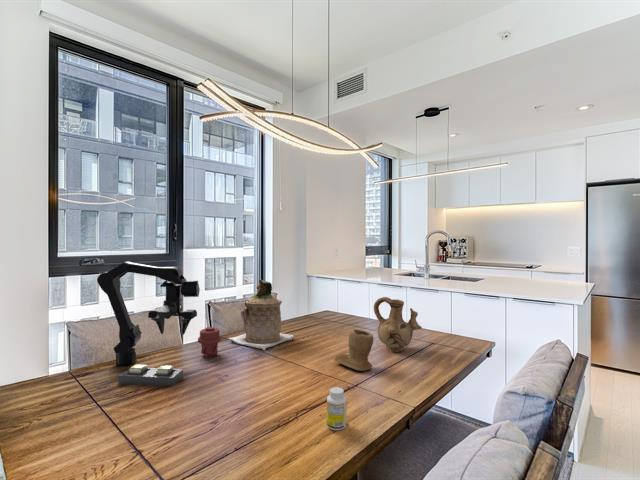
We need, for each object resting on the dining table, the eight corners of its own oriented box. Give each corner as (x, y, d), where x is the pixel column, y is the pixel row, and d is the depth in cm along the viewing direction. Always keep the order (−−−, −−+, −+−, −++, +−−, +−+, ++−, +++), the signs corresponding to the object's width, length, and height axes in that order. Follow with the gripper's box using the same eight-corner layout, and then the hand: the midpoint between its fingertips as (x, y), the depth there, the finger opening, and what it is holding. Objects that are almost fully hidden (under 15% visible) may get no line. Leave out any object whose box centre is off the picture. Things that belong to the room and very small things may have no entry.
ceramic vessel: (392, 358, 152) (393, 302, 151) (366, 346, 168) (367, 295, 168) (422, 352, 160) (423, 299, 160) (394, 341, 177) (395, 293, 177)
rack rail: (118, 385, 122) (118, 375, 122) (132, 376, 130) (132, 367, 130) (172, 387, 120) (172, 377, 120) (183, 378, 128) (183, 369, 128)
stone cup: (379, 368, 141) (379, 331, 140) (359, 375, 133) (359, 337, 133) (352, 358, 152) (353, 324, 152) (332, 364, 144) (333, 328, 144)
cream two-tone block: (156, 383, 123) (156, 369, 123) (162, 378, 127) (162, 364, 127) (167, 383, 122) (167, 369, 122) (173, 378, 127) (173, 365, 127)
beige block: (129, 382, 123) (129, 368, 123) (136, 377, 128) (136, 363, 127) (140, 382, 123) (140, 368, 123) (147, 377, 127) (147, 364, 127)
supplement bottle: (334, 418, 101) (335, 384, 101) (350, 425, 97) (350, 389, 97) (322, 426, 97) (323, 390, 97) (338, 433, 93) (338, 396, 93)
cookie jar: (295, 338, 180) (296, 278, 180) (264, 351, 159) (264, 283, 159) (260, 331, 193) (260, 274, 193) (227, 342, 173) (227, 279, 172)
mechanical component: (225, 352, 157) (214, 360, 147) (205, 351, 159) (193, 358, 149) (225, 325, 157) (214, 331, 147) (205, 324, 159) (193, 330, 149)
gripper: (140, 300, 136) (140, 339, 137) (185, 301, 135) (185, 340, 135) (155, 295, 147) (155, 331, 148) (197, 296, 146) (197, 332, 146)
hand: (172, 334), depth 144 cm, fingers open, 9 cm apart
